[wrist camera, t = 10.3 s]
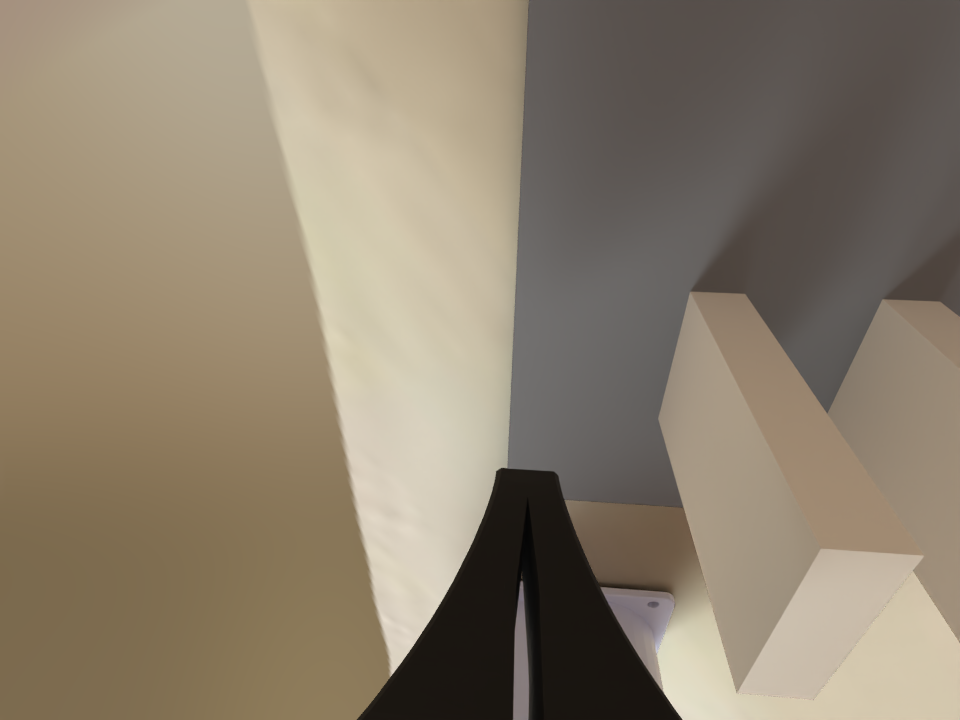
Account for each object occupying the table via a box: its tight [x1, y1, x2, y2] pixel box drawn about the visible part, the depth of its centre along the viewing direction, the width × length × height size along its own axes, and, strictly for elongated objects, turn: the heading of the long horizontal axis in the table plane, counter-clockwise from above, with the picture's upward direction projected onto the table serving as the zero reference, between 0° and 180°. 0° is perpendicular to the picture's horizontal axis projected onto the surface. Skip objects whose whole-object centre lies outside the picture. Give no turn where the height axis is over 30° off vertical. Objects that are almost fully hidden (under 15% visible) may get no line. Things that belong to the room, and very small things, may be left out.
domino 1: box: [658, 292, 924, 700], centre depth 14 cm, size 2×5×9 cm, turn 0°
